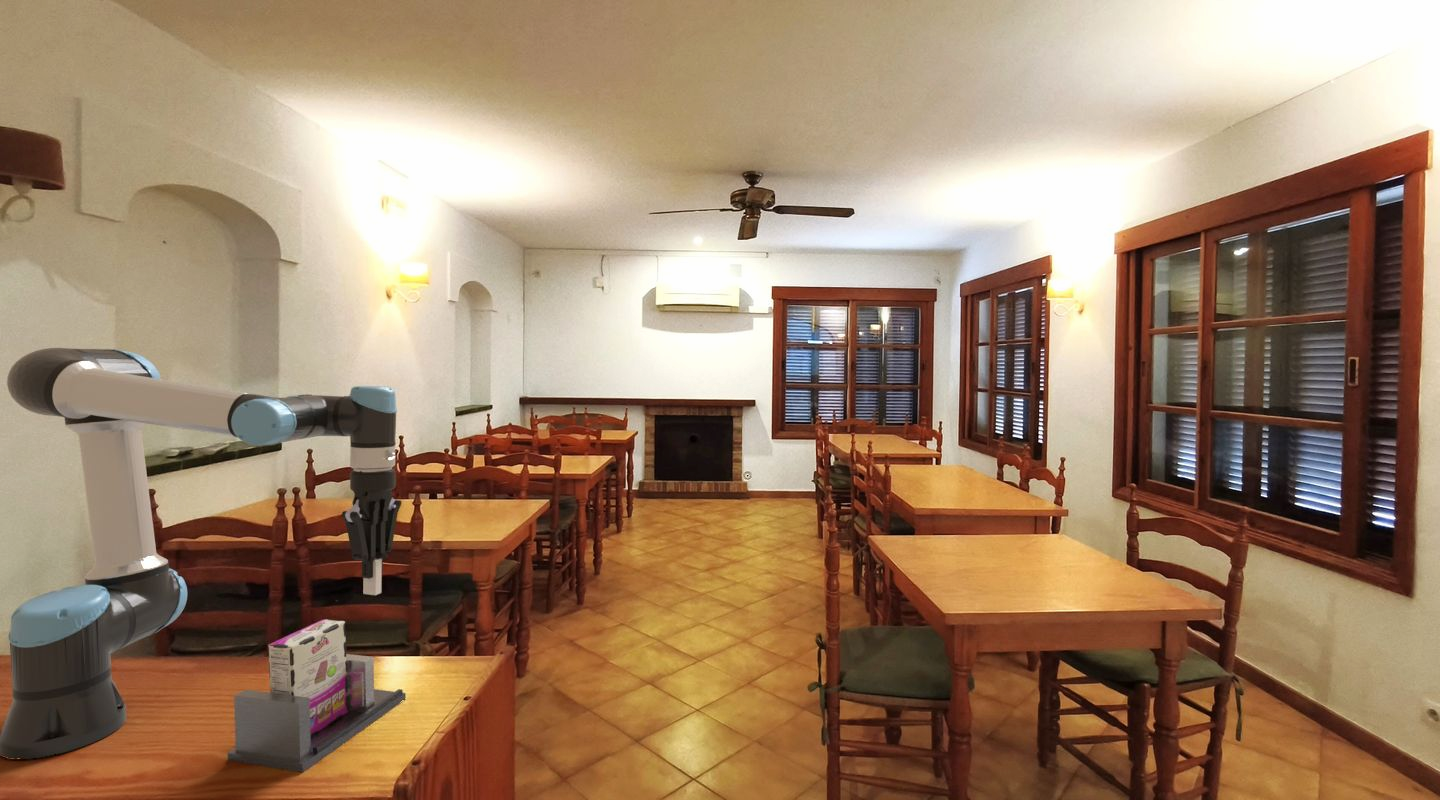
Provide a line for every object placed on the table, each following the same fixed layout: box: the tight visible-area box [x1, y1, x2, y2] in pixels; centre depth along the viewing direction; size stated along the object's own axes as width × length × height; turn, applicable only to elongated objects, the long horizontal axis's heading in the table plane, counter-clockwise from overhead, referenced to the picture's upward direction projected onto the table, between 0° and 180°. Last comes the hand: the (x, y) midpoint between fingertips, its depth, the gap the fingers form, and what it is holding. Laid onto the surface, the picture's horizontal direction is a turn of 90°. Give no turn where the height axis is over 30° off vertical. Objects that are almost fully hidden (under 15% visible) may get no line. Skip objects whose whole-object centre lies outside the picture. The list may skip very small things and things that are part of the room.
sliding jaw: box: [346, 653, 375, 712], centre depth 120 cm, size 11×8×9 cm
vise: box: [226, 688, 406, 773], centre depth 113 cm, size 14×23×10 cm, turn 168°
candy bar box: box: [267, 618, 348, 737], centre depth 110 cm, size 11×5×16 cm, turn 167°
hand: (372, 593), depth 125 cm, fingers closed
